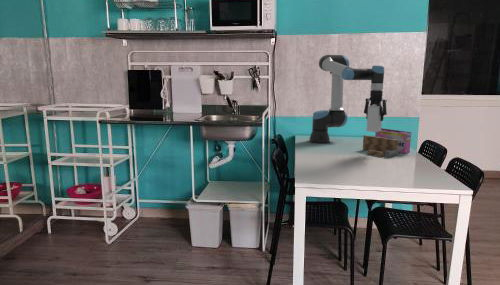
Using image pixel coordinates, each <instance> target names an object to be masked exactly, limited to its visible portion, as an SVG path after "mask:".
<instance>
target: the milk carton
mask: <svg viewBox="0 0 500 285" xmlns="http://www.w3.org/2000/svg"><path fill="white" fill-rule="evenodd" d="M370 103H371V101H369V107H368V115H367V119H366V132H369V133H370V132H371V133H375V132H380V131H381V128H382V126H379V116H380V109H379V108H380V106H377V105H376V104H372V105H370ZM380 105H381V106H382V110H383V104H382V102H381V103H380Z"/></svg>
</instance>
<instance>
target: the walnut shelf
mask: <svg viewBox="0 0 500 285" xmlns="http://www.w3.org/2000/svg"><path fill="white" fill-rule="evenodd" d="M362 140H363V142H362V150H363V151H367V155H369V156H374V157H380V158H383V156H384V154H385V151H387V150H391V149H397V150H398V140H395V139H388V138H381V137H375V136H372V135H365V134H363V139H362ZM397 150H396V156H398V152H397Z"/></svg>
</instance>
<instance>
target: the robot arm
mask: <svg viewBox="0 0 500 285" xmlns="http://www.w3.org/2000/svg"><path fill="white" fill-rule="evenodd" d="M318 66H319V68H320V69H321V70H322V71H325V72H329V74H330V75H331V88H330V89H331V90H330V91H331V94H330V96H331V98H330V108H329V109H328V110H324V109H323V110H321V109H320V110H316V111H314V112H313V113H312V124H311V125H312V126H311V127H312V128H311V134H310V136H309V142H311V143H316V144H327V143H330V141H331V140H330V135H329V131H328V130H329V128H342V127H344V126H345V125H346V124H347V122H348V113H347V111H345V109H344V107H343V105H344V104H343V103H344V102H343V99H344V81H370V94H369V95H370V97H369V98H365V103H364V104H365V105H364V110H363V114H366V116H365V117H366V120H367V115H368V107H369V105H372V104H376V105H377V106H380V108H379V109H380V116H379V126H381V127H382V126H383V121H384V116H387V114H388V113H387V99H383V93H384V91H383V89H384V81H385V80H384V78H385V66H384V65H373V66H371V68H353V67H351V66H350V60H349V58H348V57H347V55H342V54H325V55H323V56H322V57H320V59H319V60H318ZM370 102H371V103H370ZM380 103H381V105H382V106H381V105H380ZM382 108H383V110H382Z"/></svg>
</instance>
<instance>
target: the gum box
mask: <svg viewBox="0 0 500 285" xmlns="http://www.w3.org/2000/svg"><path fill="white" fill-rule="evenodd" d="M374 133H375V136H374V137H381V138H388V139H395V140H398V150H397V153H399V152H400V153H399V154H407V153H410V152H411V149H410V148H411V141H412V131H406V130H405V131H404V130H398V129H397V130H395V129H390V128H382V127H381V131H380V132H374Z"/></svg>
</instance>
